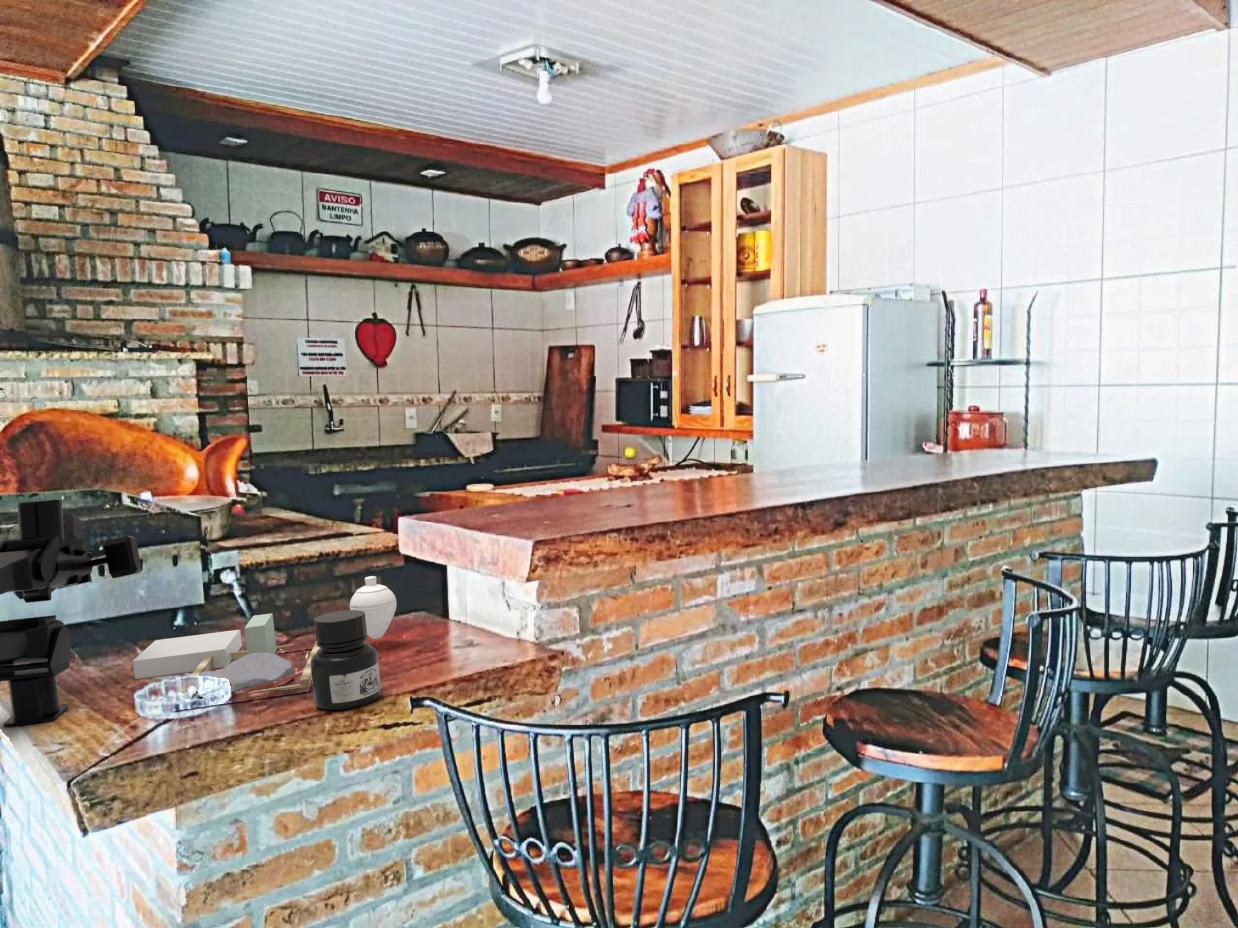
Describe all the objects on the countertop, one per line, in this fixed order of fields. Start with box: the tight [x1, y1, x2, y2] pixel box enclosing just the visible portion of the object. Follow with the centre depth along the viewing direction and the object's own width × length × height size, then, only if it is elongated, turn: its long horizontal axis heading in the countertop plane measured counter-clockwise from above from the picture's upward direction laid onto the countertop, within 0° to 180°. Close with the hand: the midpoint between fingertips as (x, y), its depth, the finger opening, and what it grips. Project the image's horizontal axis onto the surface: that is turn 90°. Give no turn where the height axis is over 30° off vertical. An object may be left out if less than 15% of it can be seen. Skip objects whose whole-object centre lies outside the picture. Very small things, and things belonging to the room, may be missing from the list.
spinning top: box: [349, 575, 397, 640], centre depth 159 cm, size 8×8×12 cm
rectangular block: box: [244, 613, 277, 655], centre depth 153 cm, size 9×3×8 cm, turn 13°
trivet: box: [132, 629, 243, 680], centre depth 159 cm, size 14×14×3 cm
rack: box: [177, 642, 320, 693], centre depth 147 cm, size 27×18×2 cm
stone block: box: [199, 653, 295, 692], centre depth 141 cm, size 12×5×10 cm
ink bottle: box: [310, 609, 382, 711], centre depth 130 cm, size 10×9×12 cm
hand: (100, 565), depth 159 cm, fingers open, 9 cm apart
